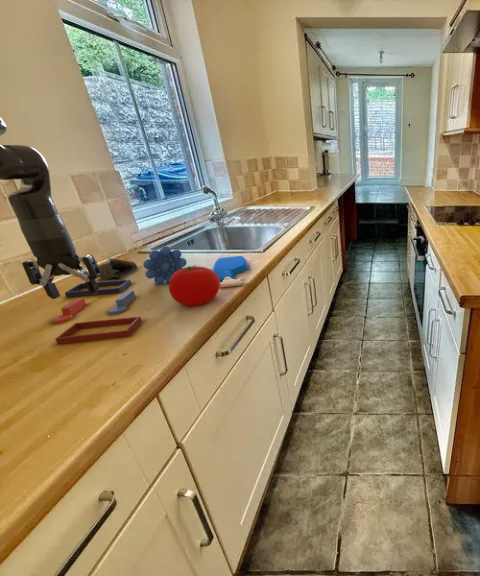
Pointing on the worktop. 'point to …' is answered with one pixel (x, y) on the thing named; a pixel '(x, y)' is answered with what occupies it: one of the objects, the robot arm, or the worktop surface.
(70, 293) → the blue tray
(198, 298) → the tomato
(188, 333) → the worktop surface
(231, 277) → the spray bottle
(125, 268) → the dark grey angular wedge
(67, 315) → the red long stepped block
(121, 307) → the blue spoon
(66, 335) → the red tray
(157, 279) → the blue flower
